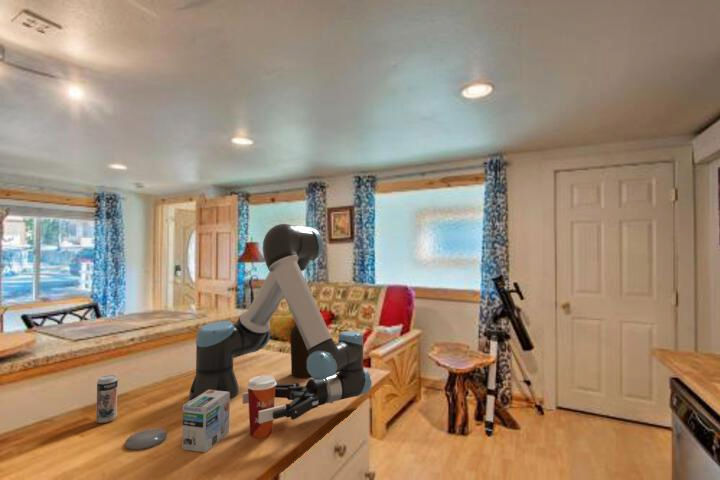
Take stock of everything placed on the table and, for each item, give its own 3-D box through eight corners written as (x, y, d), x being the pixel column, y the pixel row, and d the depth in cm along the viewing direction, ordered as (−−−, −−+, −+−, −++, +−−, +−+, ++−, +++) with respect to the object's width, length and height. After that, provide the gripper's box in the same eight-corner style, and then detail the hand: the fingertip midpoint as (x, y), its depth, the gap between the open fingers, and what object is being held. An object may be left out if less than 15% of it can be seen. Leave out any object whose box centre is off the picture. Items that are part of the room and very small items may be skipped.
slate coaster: (116, 449, 88) (116, 445, 88) (142, 431, 97) (142, 427, 97) (150, 451, 87) (150, 448, 87) (174, 433, 96) (174, 429, 96)
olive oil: (322, 375, 141) (322, 310, 142) (297, 380, 135) (298, 313, 136) (308, 368, 150) (309, 307, 151) (285, 373, 144) (285, 309, 144)
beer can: (94, 425, 100) (95, 381, 100) (97, 418, 104) (98, 376, 104) (115, 422, 102) (116, 378, 102) (117, 415, 106) (118, 373, 107)
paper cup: (260, 443, 91) (261, 386, 91) (239, 435, 95) (240, 381, 95) (282, 430, 97) (283, 377, 98) (262, 423, 101) (263, 372, 102)
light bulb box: (205, 453, 86) (206, 407, 87) (180, 450, 88) (181, 405, 88) (230, 431, 97) (231, 390, 97) (207, 429, 98) (208, 388, 98)
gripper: (345, 419, 96) (266, 443, 84) (304, 389, 117) (237, 405, 105) (345, 390, 96) (267, 410, 84) (304, 366, 117) (237, 378, 105)
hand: (250, 407), depth 94 cm, fingers open, 13 cm apart
